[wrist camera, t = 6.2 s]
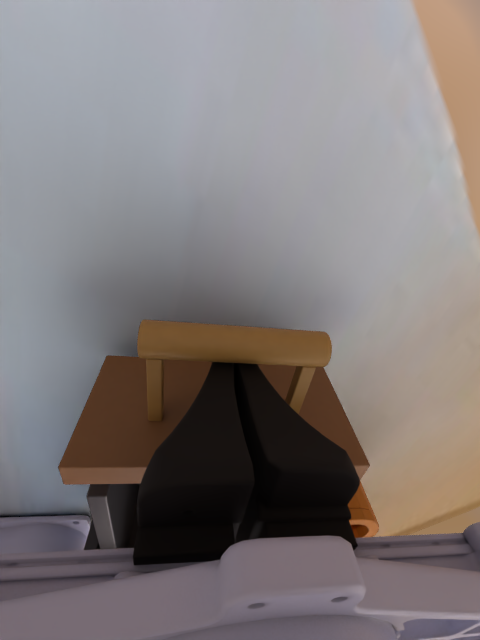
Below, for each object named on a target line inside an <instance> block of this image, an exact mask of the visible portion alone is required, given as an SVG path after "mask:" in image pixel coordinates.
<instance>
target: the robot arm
mask: <svg viewBox="0 0 480 640" xmlns="http://www.w3.org/2000/svg"><path fill="white" fill-rule="evenodd" d="M359 485H360V479H359V477H358V474H357V472H356V469H355V467H354V465H353V463H352V461H351V459H350V457H349V456H348V454H347V452H346V450H344V449H343V448H341V447H340V446H338V445H337V444H335V443H334V442H332V441H331V440H329V439H328V438H327V437H325V436H324V435H322V434H321V433H320V432H319V431H317V430H316V429H315V428H314V427H312V426H311V425H310V424H309V423H307V422H306V421H305V420H304V419H303V418H302V417H301V416H300V415H299V414H298V413H296V412H295V411H294V410H293V409H292V408H291V407H290V406H289V405H288V404H287V403H286V401H285V400H284V399H283V398H282V397H281V396H280V395H279V393H278V392H277V391H276V390H275V389H274V387H273V386H272V385H271V383H270V382H269V381H268V379H267V378H266V377H265V375H264V374H263V372H262V371H261V369H260V368H259V366H258V365H257V364H245V363H224V362H212V364H211V367H210V370H209V373H208V375H207V377H206V379H205V381H204V384H203V386H202V388H201V390H200V391H199V393H198V395H197V397H196V399H195V400H194V402H193V403H192V405H191V407H190V408H189V410H188V411H187V413H186V414H185V416H184V417H183V418H182V420H181V421H180V422H179V423H178V425H177V426H176V427H175V429H174V430H173V431H172V432H171V434H170V435H169V436H168V437H167V438H166V439H165V440H164V441H163V442H162V444H161V445H160V446H159V447H158V448H157V449H156V450H155V452H154V454H153V456H152V458H151V460H150V462H149V464H148V466H147V468H146V470H145V473H144V475H143V478H142V480H141V484H140V487H139V493H138V499H137V505H136V508H137V519H138V529H137V535H136V541H135V546H134V548H119V549H97V550H84V547H85V543H86V540H87V536H88V533H89V530H90V526H91V522H90V518H89V517H88V516H86V515H68V516H35V517H2V518H0V640H480V522H478V523H475V524H472V525H470V526H469V527H467V528H466V529H465V530H464V532H463V533H454V534H432V535H431V534H430V535H408V536H385V537H363V538H355V536H354V533H353V530H352V528H351V525H350V522H349V520H350V519H351V513H350V510H349V507H348V503H349V502H350V500H351V499H352V498H353V496H354V495H355V493H356V492H357V490H358V487H359ZM235 537H236V543H234V540H235Z"/></svg>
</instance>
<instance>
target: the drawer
mask: <svg viewBox="0 0 480 640" xmlns="http://www.w3.org/2000/svg"><path fill="white" fill-rule="evenodd" d="M137 351H138V356H139V357H130V356H109V355H108V356H106V359H105V361H104V363H103V365H102V368H101V370H100V372H99V375H98V377H97V379H96V382H95V384H94V386H93V388H92V391H91V393H90V395H89V398H88V400H87V402H86V404H85V407H84V409H83V411H82V414H81V416H80V418H79V421H78V423H77V425H76V427H75V430H74V432H73V434H72V437H71V439H70V441H69V443H68V446H67V448H66V450H65V453H64V455H63V457H62V460H61V462H60V464H59V466H58V468H59V471H60V474H61V477H62V480H63V484H65V485H70V484H90V487H89V490H88V493H87V500H88V504H89V508H90V512H91V516H92V520H93V523H94V527H95V531H96V535H97V539H98V542H99V546H100V549H119V548H134V546H135V541H136V535H137V529H138V519H137V508H136V505H137V499H138V493H139V487H140V484H141V480H142V478H143V475H144V473H145V470H146V468H147V466H148V464H149V462H150V460H151V458H152V456H153V454H154V452H155V450H156V449H157V448H158V447H159V446H160V445H161V444H162V442H163V441H164V440H165V439H166V438H167V437H168V436H169V435H170V434H171V432H172V431H173V430H174V429H175V427H176V426H177V425H178V423H179V422H180V421H181V420H182V418H183V417H184V416H185V414H186V413H187V411H188V410H189V408H190V407H191V405H192V403H193V402H194V400H195V399H196V397H197V395H198V393H199V391H200V390H201V388H202V386H203V384H204V381H205V379H206V377H207V375H208V373H209V370H210V367H211V364H212V362H224V363H245V364H257V365H258V366H259V368H260V369H261V371H262V372H263V374H264V375H265V377H266V378H267V379H268V381H269V382H270V383H271V385H272V386H273V387H274V389H275V390H276V391H277V392H278V393H279V395H280V396H281V397H282V398H283V399H284V400H285V401H286V403H287V404H288V405H289V406H290V407H291V408H292V409H293V410H294V411H295V412H296V413H298V414H299V415H300V416H301V417H302V418H303V419H304V420H305V421H306V422H307V423H309V424H310V425H311V426H312V427H314V428H315V429H316V430H317V431H319V432H320V433H321V434H322V435H324V436H325V437H327V438H328V439H329V440H331V441H332V442H334V443H335V444H337V445H338V446H340V447H341V448H343V449H344V450H346V452H347V454H348V456H349V457H350V459H351V461H352V463H353V465H354V467H355V469H356V472H357V474H358V477H359V479H360V480H361V478H362V477H363V475H364V474H365V472H366V471H367V469H368V468H369V466H370V464H369V462H368V460H367V458H366V456H365V454H364V451H363V449H362V447H361V445H360V443H359V441H358V439H357V437H356V435H355V433H354V430H353V428H352V426H351V424H350V422H349V420H348V418H347V416H346V414H345V412H344V410H343V407H342V405H341V403H340V401H339V399H338V397H337V395H336V393H335V391H334V389H333V387H332V384H331V382H330V380H329V378H328V376H327V374H326V372H325V370H324V368H323V367H325V366H326V365H327V364H328V363H329V361H330V358H331V352H332V345H331V340H330V337H329V335H328V334H327V333H326V332H320V331H306V330H291V329H276V328H262V327H247V326H232V325H218V324H203V323H188V322H174V321H159V320H142V322H141V324H140V327H139V332H138V341H137ZM234 543H236V537H235V540H234Z"/></svg>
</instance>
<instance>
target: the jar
mask: <svg viewBox="0 0 480 640" xmlns="http://www.w3.org/2000/svg"><path fill="white" fill-rule="evenodd" d="M348 507H349V510H350V513H351V519H350V520H349V522H350V525H351V528H352V530H353V533H354V536H355V538H363V537H373V536H374V535H375V534H376V533H377V532H378V531H379V524H378V522H377V520H376V517H375V515H374V512H373V510H372V508H371V505H370V503H369V501H368V498H367V496H366V494H365V491H364V489H363V487H362V484H361V482H360V485H359V487H358V490H357V492H356V493H355V495H354V496H353V498H352V499H351V500H350V502H349V503H348Z"/></svg>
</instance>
